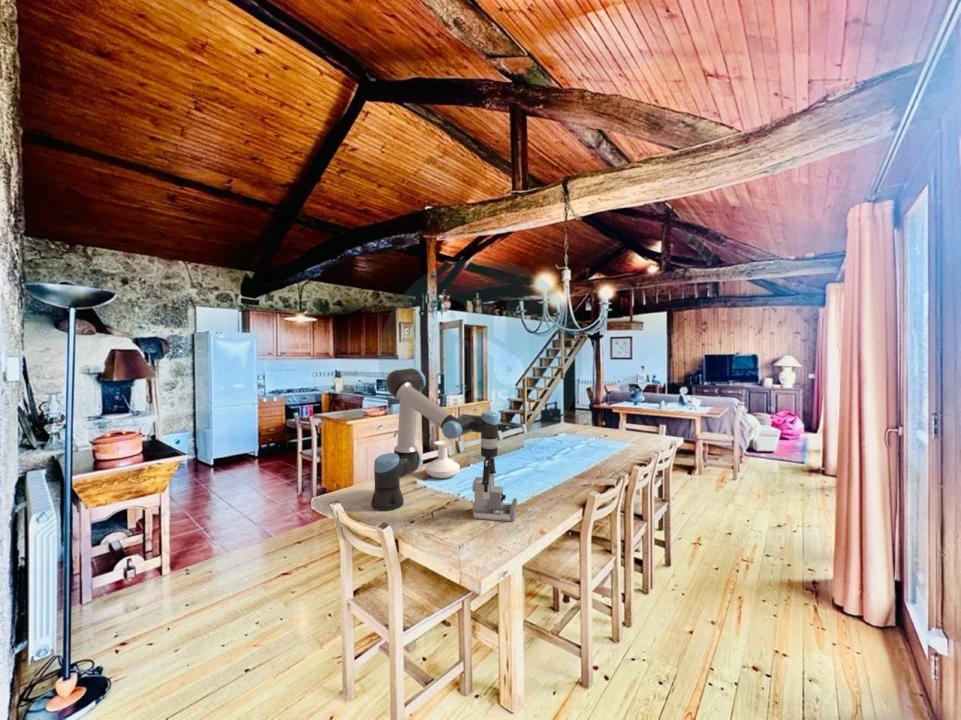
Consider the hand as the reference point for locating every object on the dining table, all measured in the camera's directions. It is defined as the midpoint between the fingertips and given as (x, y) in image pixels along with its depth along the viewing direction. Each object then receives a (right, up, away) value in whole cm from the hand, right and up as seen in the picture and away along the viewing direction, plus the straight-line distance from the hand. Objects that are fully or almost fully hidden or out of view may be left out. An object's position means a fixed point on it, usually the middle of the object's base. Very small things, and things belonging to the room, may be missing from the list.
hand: (488, 493), depth 184 cm
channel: (+2, -9, 0) cm, 9 cm away
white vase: (-26, -7, +53) cm, 60 cm away
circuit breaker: (+1, -9, 0) cm, 9 cm away
